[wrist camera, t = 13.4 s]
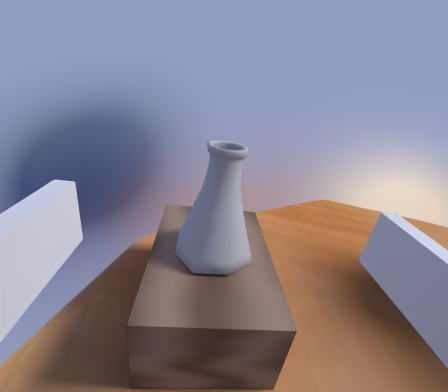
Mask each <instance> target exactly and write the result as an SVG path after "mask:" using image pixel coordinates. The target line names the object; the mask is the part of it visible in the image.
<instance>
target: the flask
mask: <svg viewBox="0 0 448 392" xmlns="http://www.w3.org/2000/svg"><path fill="white" fill-rule="evenodd" d="M207 145H208V152H209V153H210V158H209V166H208V170H207V173H206V176H205V180H204V183H203V186H202V188H201V190H200V192H199V194H198V196H197V198H196V200H195V202H194V204H193V206H192V209H191V210H190V212H189V214H188V216H187V218H186V220H185V221H184V223H183V225H182V227H181V229H180V231H179V233H178V237H177V242H176V248H175V254H176V255H177V256H178V257H179V258H180V260H181V261H182V262H183V263H184V264H185V265H186V266H187V267H188V268H189V269H190V270H191V271H192V272H193V273H201V274H220V275H229V274H231V273H233V272H235V271H237V270H238V269H240V268H242V267H244V266H246V265H248V264H250V263H251V262H252V258H251V252H250V247H249V242H248V237H247V232H246V227H245V220H244V214H243V208H242V201H241V169H242V163H243V159H244V158H246V157H247V155H248V152H249V150H248V149H247V147H246V146H244V145H242V144H239V143H236V142H231V141H223V140H216V141H208V144H207Z"/></svg>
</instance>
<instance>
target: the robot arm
mask: <svg viewBox="0 0 448 392" xmlns="http://www.w3.org/2000/svg"><path fill="white" fill-rule="evenodd" d="M82 239H83V236H82V230H81V222H80V215H79V207H78V201H77V193H76V186H75V182H72V181H62V180H53V181H51V182H50V183H48V184H47V185H45V186H44V187H42V188H41V189H39V190H37V191H36V192H34V193H33V194H31V195H30V196H28V197H27V198H25V199H23V200H22V201H20V202H19V203H17V204H16V205H14V206H12V207H11V208H9V209H8V210H6V211H5V212H3V213H2V214H0V342H1V341H2V340H3V338H4V337H5V336H6V335H7V334H8V332H9V331H10V330H11V329H12V327H13V326H14V325H15V324H16V322H17V321H18V320H19V318H20V317H21V316H22V315H23V313H24V312H25V311H26V310H27V308H28V307H29V306H30V305H31V303H32V302H33V301H34V300H35V298H36V297H37V296H38V295H39V293H40V292H41V291H42V290H43V288H44V287H45V286H46V285H47V283H48V282H49V281H50V280H51V278H52V277H53V276H54V275H55V273H56V272H57V271H58V270H59V268H60V267H61V266H62V265H63V263H64V262H65V261H66V260H67V258H68V257H69V256H70V255H71V253H72V252H73V251H74V250H75V248H76V247H77V246H78V245H79V243H80V242H81V241H82ZM359 261H360V263H361V264H362V265H363V266H364V267H365V269H366V270H367V271H368V272H369V273H370V275H371V276H372V277H373V278H374V280H375V281H376V282H377V283H378V284H379V286H380V287H381V288H382V289H383V290H384V292H385V293H386V294H387V295H388V297H389V298H390V299H391V300H392V301H393V303H394V304H395V305H396V306H397V307H398V309H399V310H400V311H401V312H402V314H403V315H404V316H405V317H406V318H407V320H408V321H409V322H410V323H411V324H412V326H413V327H414V328H415V329H416V331H417V332H418V333H419V334H420V335H421V337H422V338H423V339H424V340H425V341H426V343H427V344H428V345H429V346H430V348H431V349H432V350H433V351H434V352H435V354H436V355H437V356H438V357H439V358H440V360H441V361H442V362H443V363H444V365H445V366H446V367H447V368H448V250H446V249H445V248H443V247H442V246H441V245H439V244H438V243H436V242H435V241H434V240H432V239H431V238H429V237H428V236H427V235H425V234H424V233H423V232H421V231H420V230H418V229H417V228H416V227H414V226H413V225H411V224H410V223H409V222H407V221H406V220H404V219H403V218H402V217H400V216H399V215H397V214H392V213H382V212H381V214H380V216H379V218H378V220H377V222H376V225H375V227H374V229H373V231H372V233H371V235H370V237H369V239H368V241H367V243H366V246H365V248H364V250H363V252H362V254H361V256H360V258H359Z"/></svg>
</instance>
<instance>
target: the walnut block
mask: <svg viewBox="0 0 448 392" xmlns="http://www.w3.org/2000/svg"><path fill="white" fill-rule="evenodd" d="M191 209H192V207H189V206H178V205H166V208H165V211H164V214H163V217H162V220H161V223H160V226H159V229H158V232H157V235H156V238H155V241H154V244H153V247H152V250H151V253H150V256H149V259H148V262H147V265H146V268H145V271H144V275H143V278H142V281H141V284H140V287H139V290H138V293H137V296H136V299H135V302H134V305H133V308H132V311H131V314H130V317H129V320H128V323H127V340H128V357H129V374H130V388H159V389H274V387H275V384H276V382H277V379H278V377H279V374H280V372H281V369H282V367H283V364H284V362H285V359H286V357H287V354H288V352H289V349H290V347H291V344H292V342H293V339H294V337H295V334H296V332H297V330H296V328H295V325H294V322H293V319H292V316H291V313H290V311H289V308H288V305H287V302H286V299H285V296H284V294H283V291H282V288H281V285H280V282H279V279H278V277H277V274H276V271H275V268H274V265H273V262H272V260H271V257H270V254H269V251H268V248H267V245H266V243H265V240H264V237H263V234H262V231H261V228H260V226H259V223H258V220H257V217H256V214H255V212H246V211H243V214H244V220H245V227H246V232H247V237H248V242H249V247H250V252H251V258H252V262H251V263H250V264H248V265H246V266H244V267H242V268H240V269H238V270H237V271H235V272H233V273H231V274H229V275H220V274H201V273H193V272H192V271H191V270H190V269H189V268H188V267H187V266H186V265H185V264H184V263H183V262H182V261H181V260H180V258H179V257H178V256H177V255H176V254H175V248H176V242H177V237H178V233H179V231H180V229H181V227H182V225H183V223H184V221H185V220H186V218H187V216H188V214H189V212H190V210H191Z"/></svg>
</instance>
